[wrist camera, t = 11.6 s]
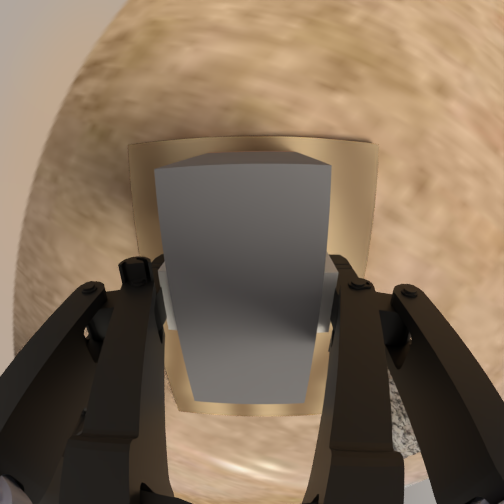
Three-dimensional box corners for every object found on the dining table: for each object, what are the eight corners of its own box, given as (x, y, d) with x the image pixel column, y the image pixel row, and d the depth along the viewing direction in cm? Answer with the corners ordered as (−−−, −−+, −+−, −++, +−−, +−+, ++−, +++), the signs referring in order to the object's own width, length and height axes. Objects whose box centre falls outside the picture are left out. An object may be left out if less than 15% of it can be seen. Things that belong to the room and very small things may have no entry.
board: (180, 404, 27) (178, 411, 26) (134, 144, 17) (127, 145, 16) (326, 406, 26) (328, 413, 25) (373, 143, 16) (379, 144, 15)
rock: (332, 365, 23) (360, 463, 15) (411, 316, 21) (462, 410, 12) (382, 403, 30) (403, 465, 21) (436, 371, 28) (464, 432, 19)
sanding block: (289, 299, 19) (304, 402, 11) (218, 299, 20) (194, 401, 11) (294, 151, 16) (331, 165, 7) (209, 152, 16) (154, 168, 7)
